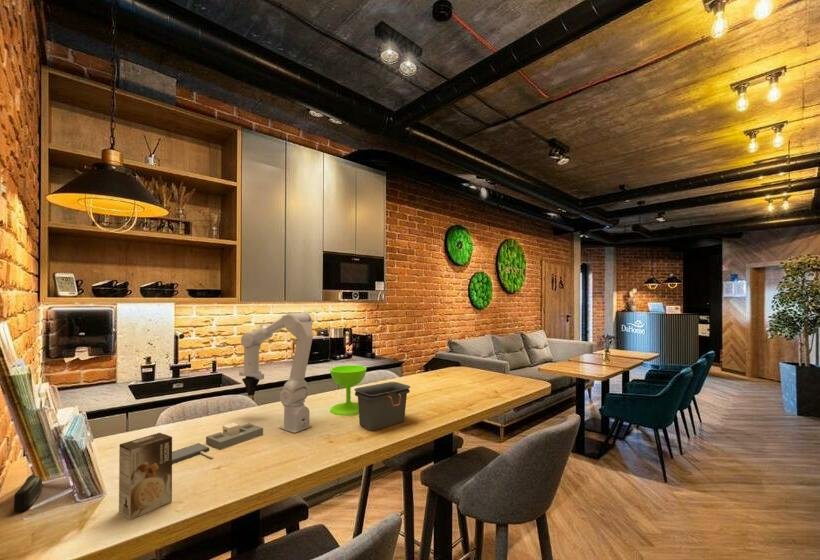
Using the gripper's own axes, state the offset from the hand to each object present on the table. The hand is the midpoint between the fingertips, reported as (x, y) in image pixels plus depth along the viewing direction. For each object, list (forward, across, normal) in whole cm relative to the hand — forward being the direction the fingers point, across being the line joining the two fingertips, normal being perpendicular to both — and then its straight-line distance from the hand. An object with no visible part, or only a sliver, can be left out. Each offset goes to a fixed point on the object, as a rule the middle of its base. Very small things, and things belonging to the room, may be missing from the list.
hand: (251, 395), depth 153 cm
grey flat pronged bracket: (+10, -16, +32) cm, 37 cm away
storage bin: (+10, -49, -26) cm, 56 cm away
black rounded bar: (+5, -8, +66) cm, 66 cm away
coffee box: (+10, -36, +51) cm, 63 cm away
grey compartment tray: (+10, -14, +15) cm, 23 cm away
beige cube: (+10, -12, +15) cm, 22 cm away
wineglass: (+10, -24, -32) cm, 41 cm away
